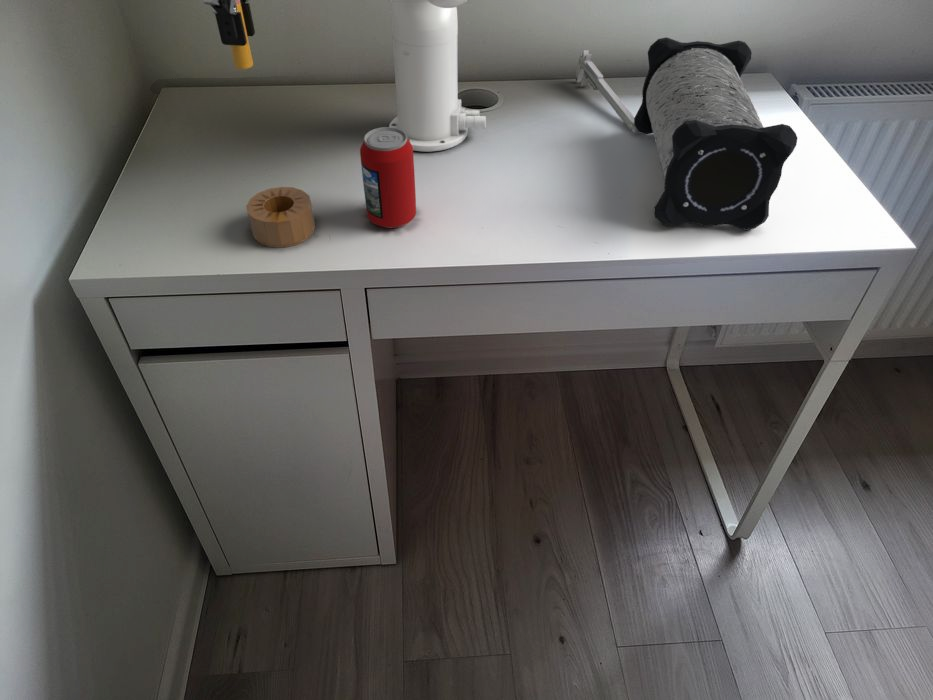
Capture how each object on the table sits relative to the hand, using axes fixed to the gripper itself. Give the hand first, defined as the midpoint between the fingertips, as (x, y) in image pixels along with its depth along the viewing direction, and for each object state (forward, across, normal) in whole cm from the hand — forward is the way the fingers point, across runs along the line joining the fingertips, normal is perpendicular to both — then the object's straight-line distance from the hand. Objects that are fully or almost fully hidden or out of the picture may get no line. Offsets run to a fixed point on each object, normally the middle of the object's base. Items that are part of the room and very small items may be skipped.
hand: (238, 38), depth 93 cm
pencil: (+4, 0, 0) cm, 4 cm away
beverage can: (+19, -10, -21) cm, 30 cm away
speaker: (+19, +5, -63) cm, 66 cm away
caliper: (+19, +27, -51) cm, 61 cm away
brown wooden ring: (+19, -15, -7) cm, 25 cm away
